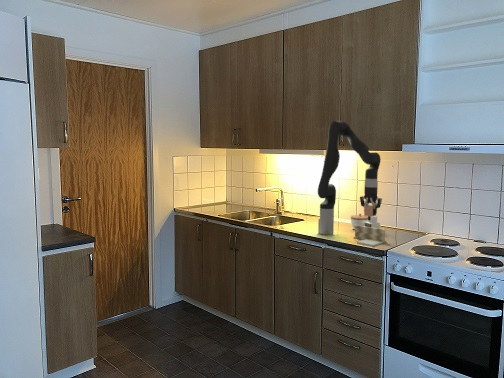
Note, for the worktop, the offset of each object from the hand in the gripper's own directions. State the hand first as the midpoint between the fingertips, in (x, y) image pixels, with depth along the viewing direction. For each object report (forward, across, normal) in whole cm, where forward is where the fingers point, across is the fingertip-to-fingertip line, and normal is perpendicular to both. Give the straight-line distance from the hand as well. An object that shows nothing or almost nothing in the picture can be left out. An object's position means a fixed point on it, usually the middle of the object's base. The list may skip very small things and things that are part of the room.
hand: (370, 214), depth 256 cm
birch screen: (+18, -5, +8) cm, 20 cm away
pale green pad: (+18, 0, 0) cm, 18 cm away
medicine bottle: (+18, -15, +28) cm, 37 cm away
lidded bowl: (+18, -27, +32) cm, 46 cm away
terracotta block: (+1, 0, 0) cm, 1 cm away
